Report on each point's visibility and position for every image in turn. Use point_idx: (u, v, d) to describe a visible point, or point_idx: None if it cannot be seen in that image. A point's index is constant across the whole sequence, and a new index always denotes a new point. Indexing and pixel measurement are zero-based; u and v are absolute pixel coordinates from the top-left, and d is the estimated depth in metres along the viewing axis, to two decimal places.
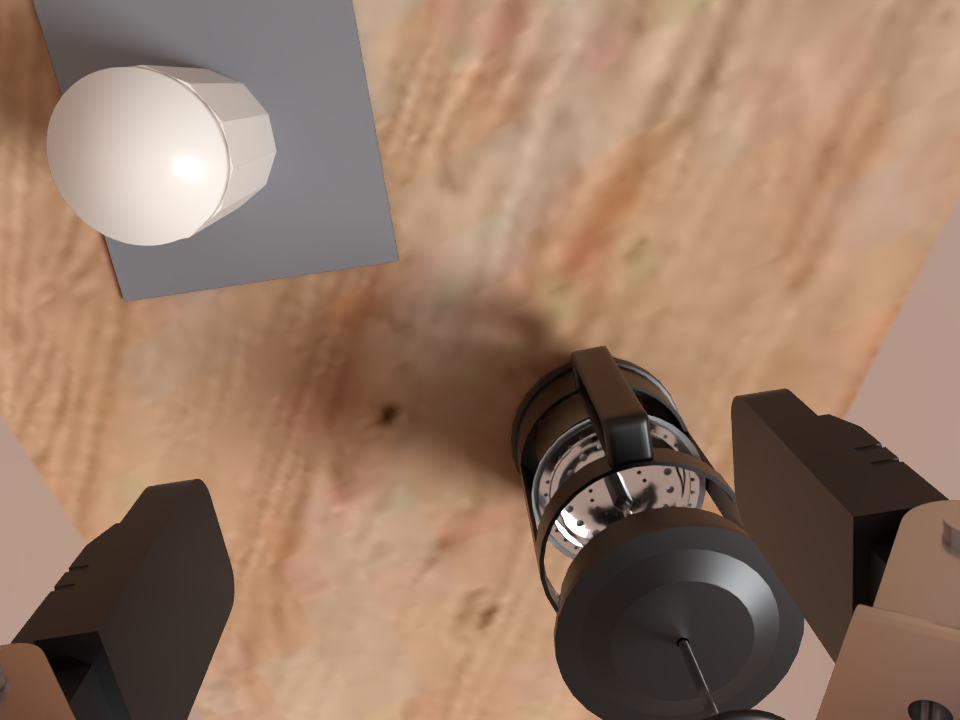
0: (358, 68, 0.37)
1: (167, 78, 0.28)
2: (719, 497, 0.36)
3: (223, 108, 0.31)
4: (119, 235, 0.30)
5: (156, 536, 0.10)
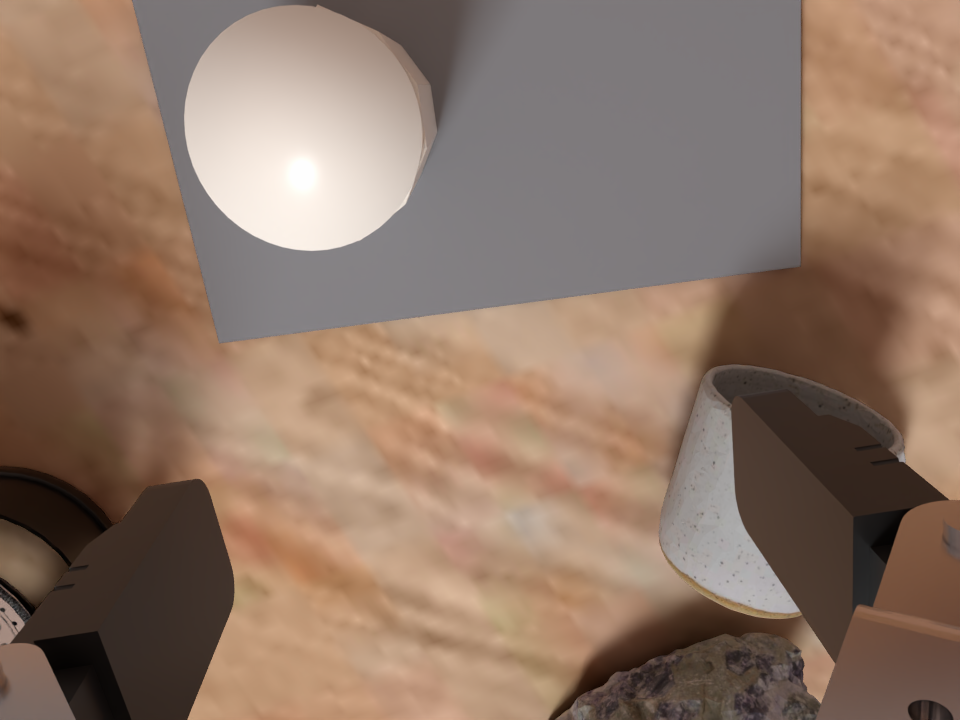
0: (439, 309, 0.32)
1: (408, 190, 0.22)
2: None
3: None
4: (195, 92, 0.21)
5: (156, 536, 0.10)
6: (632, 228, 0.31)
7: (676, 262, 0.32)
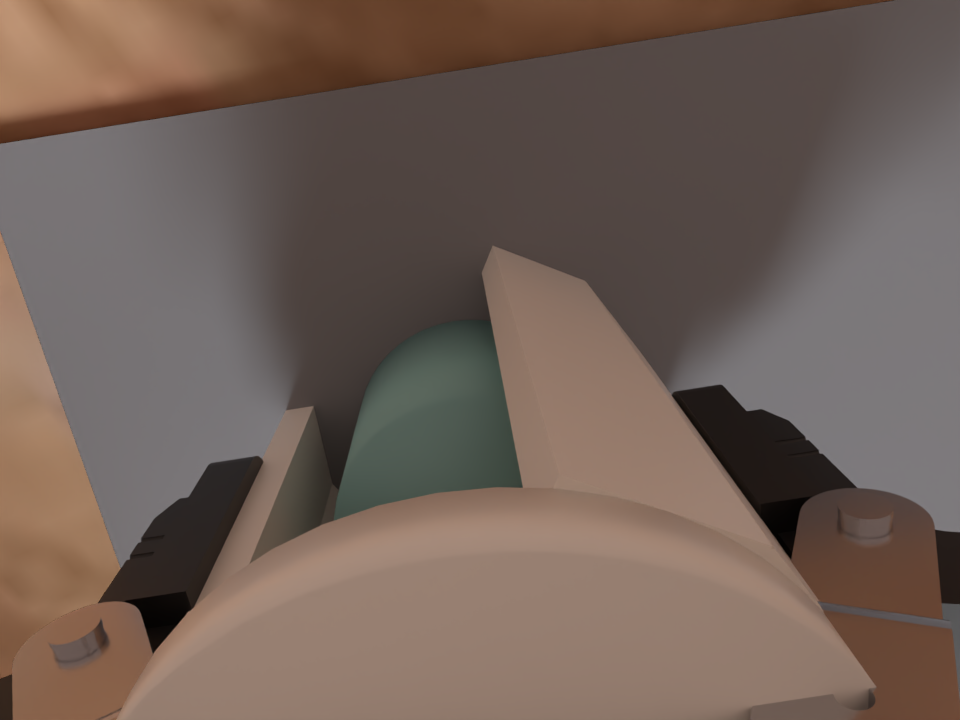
0: None
1: None
2: None
3: None
4: None
5: (226, 507, 0.10)
6: None
7: None
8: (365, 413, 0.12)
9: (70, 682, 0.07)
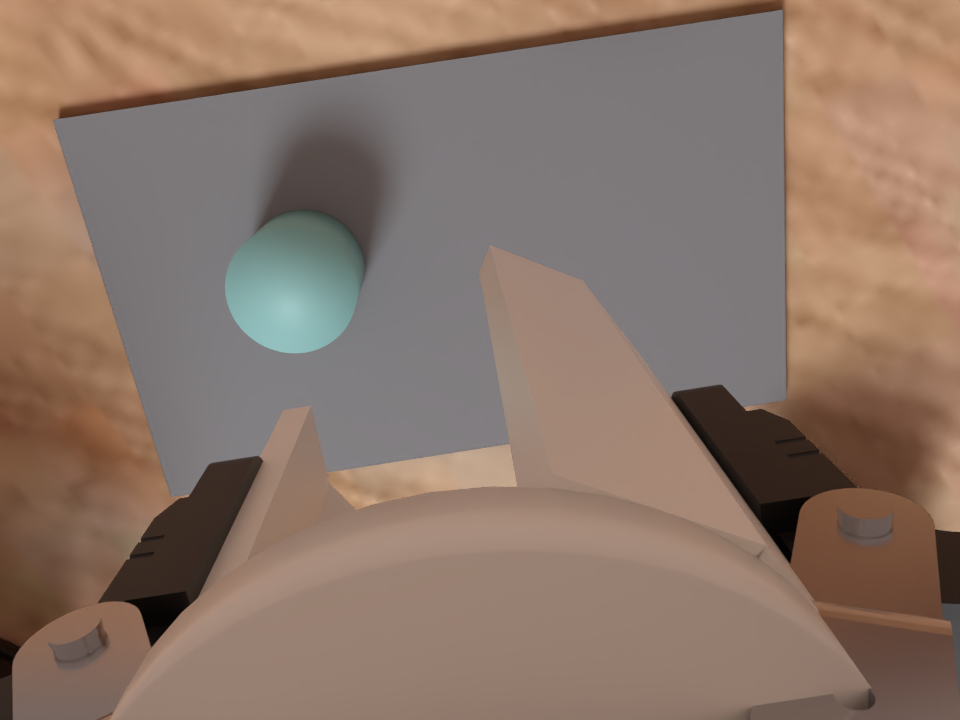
0: (408, 454, 0.30)
1: None
2: None
3: None
4: None
5: (226, 507, 0.10)
6: None
7: None
8: None
9: (70, 682, 0.07)
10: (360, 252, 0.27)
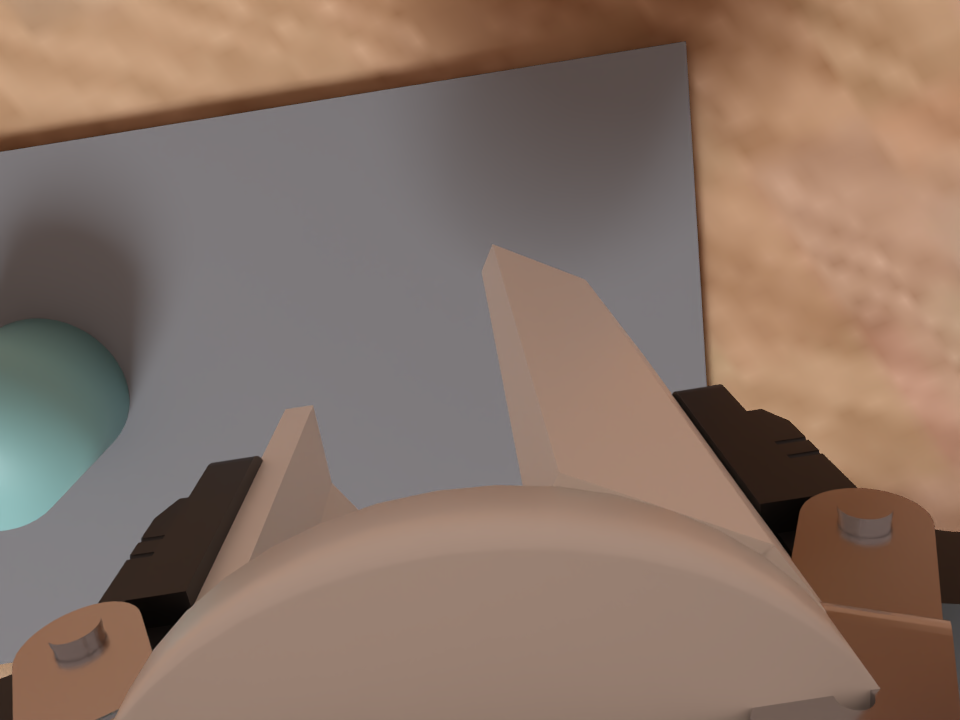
0: None
1: None
2: None
3: None
4: None
5: (226, 507, 0.10)
6: None
7: None
8: None
9: (70, 682, 0.07)
10: (115, 375, 0.20)
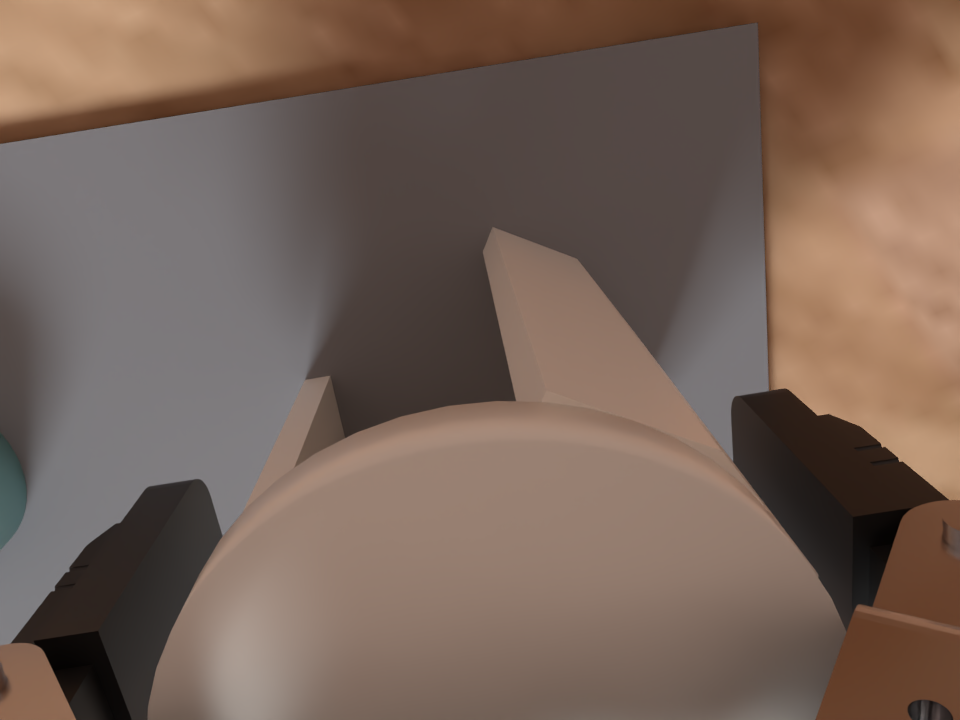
0: None
1: None
2: None
3: None
4: (179, 683, 0.07)
5: (156, 536, 0.10)
6: None
7: None
8: None
9: None
10: (3, 461, 0.15)
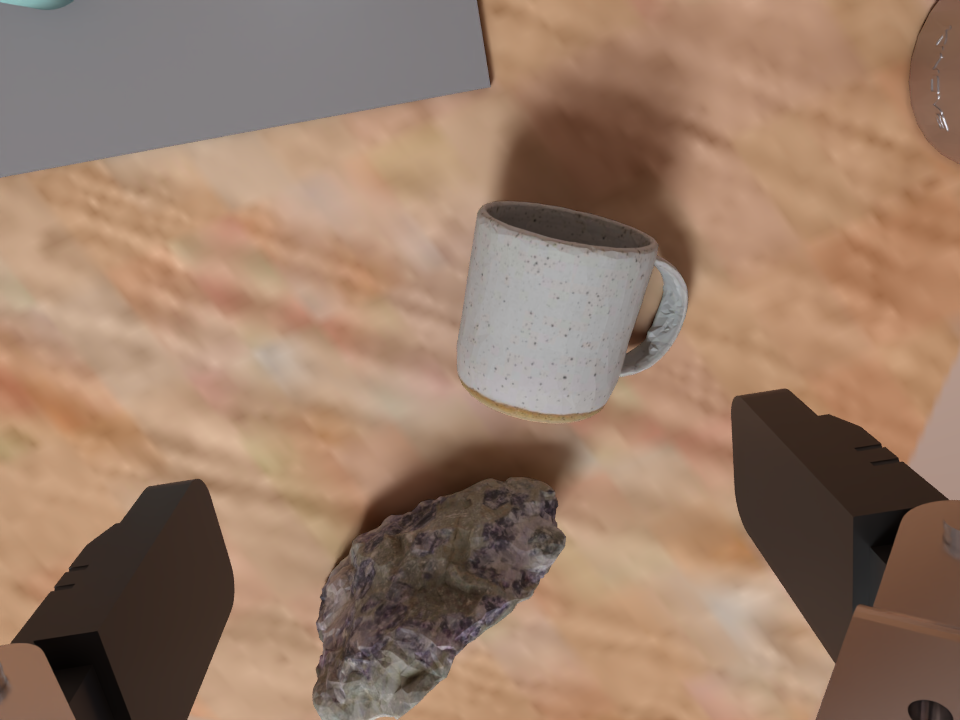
0: (153, 143, 0.34)
1: None
2: None
3: None
4: None
5: (156, 536, 0.10)
6: (325, 54, 0.33)
7: (372, 87, 0.34)
8: None
9: None
10: None
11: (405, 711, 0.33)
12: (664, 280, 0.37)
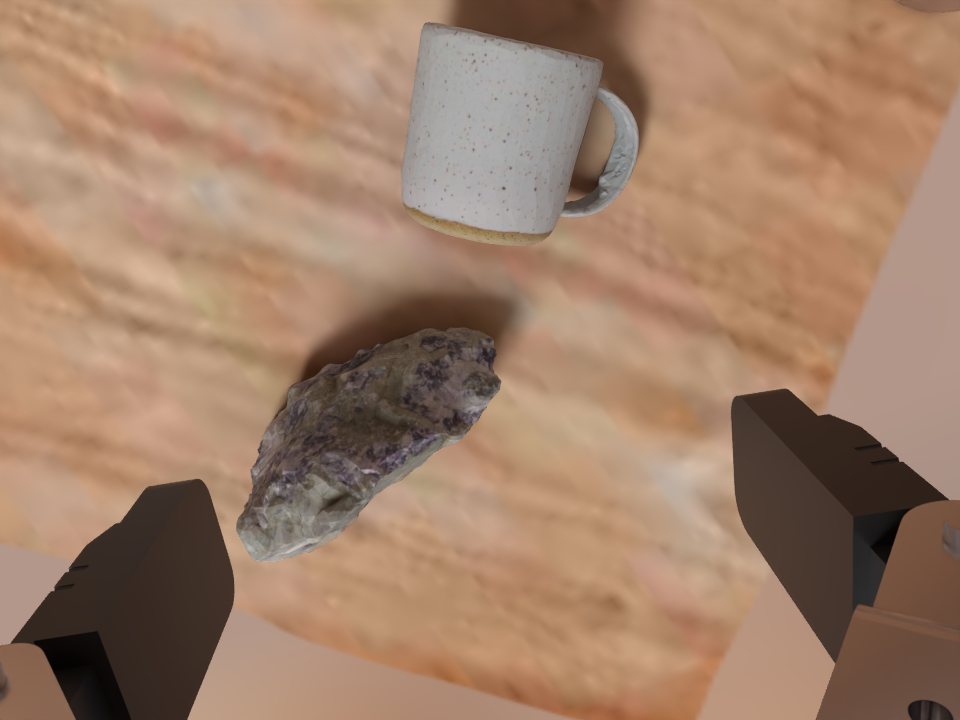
0: None
1: None
2: None
3: None
4: None
5: (156, 536, 0.10)
6: None
7: None
8: None
9: None
10: None
11: (325, 532, 0.33)
12: (616, 123, 0.37)
